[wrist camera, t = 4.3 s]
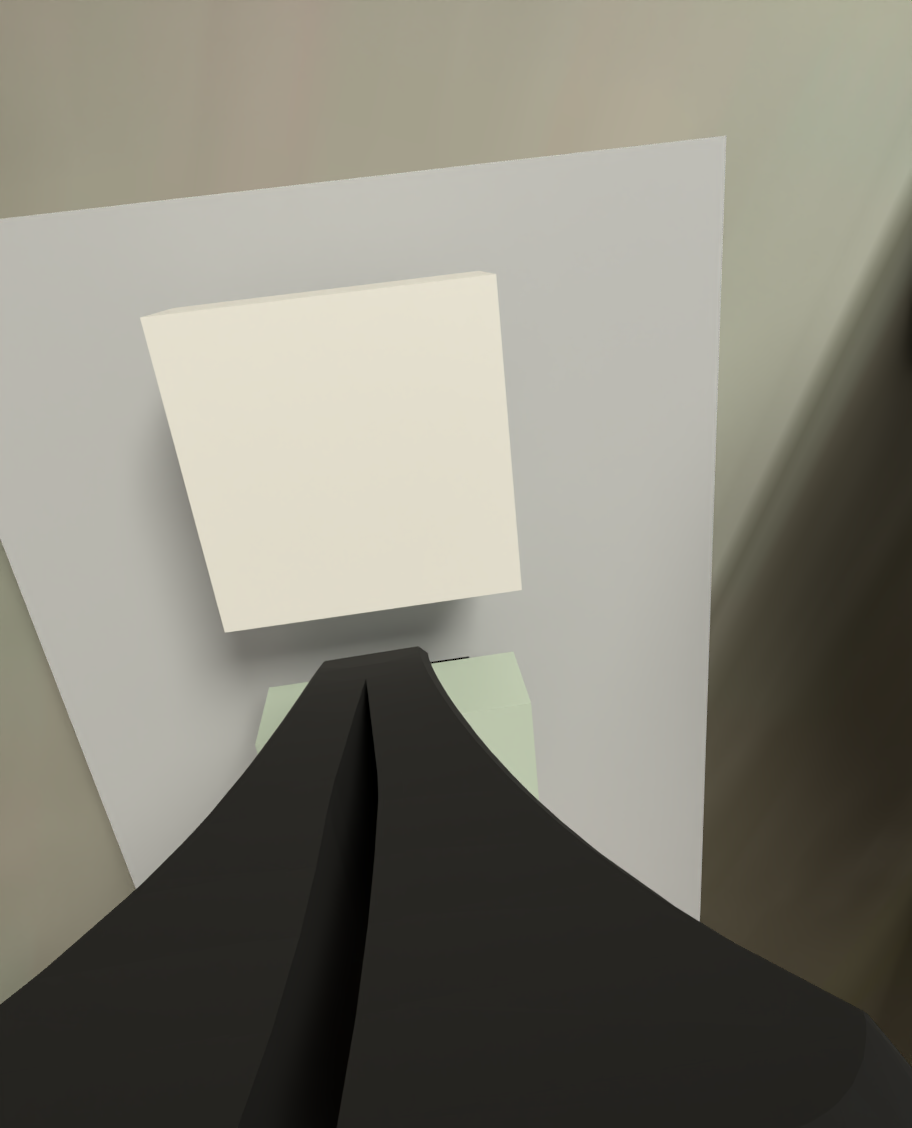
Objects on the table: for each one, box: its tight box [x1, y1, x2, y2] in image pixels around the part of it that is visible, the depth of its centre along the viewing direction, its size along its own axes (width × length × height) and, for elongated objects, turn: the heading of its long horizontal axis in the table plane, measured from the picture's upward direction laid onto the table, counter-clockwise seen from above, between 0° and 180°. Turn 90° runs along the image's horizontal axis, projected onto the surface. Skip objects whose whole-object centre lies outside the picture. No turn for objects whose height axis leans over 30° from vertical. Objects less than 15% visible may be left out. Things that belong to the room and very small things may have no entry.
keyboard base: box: [0, 136, 726, 922], centre depth 17 cm, size 14×22×2 cm, turn 6°
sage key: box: [255, 652, 539, 800], centre depth 15 cm, size 5×5×3 cm
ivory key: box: [140, 271, 522, 633], centre depth 12 cm, size 5×5×3 cm
